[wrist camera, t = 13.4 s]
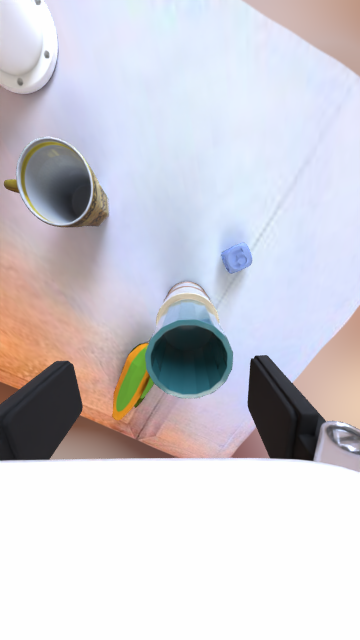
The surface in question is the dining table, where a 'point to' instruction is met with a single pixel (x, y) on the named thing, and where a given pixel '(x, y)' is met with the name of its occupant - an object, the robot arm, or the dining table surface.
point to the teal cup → (188, 351)
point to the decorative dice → (237, 258)
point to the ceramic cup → (59, 185)
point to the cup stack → (186, 297)
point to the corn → (132, 383)
